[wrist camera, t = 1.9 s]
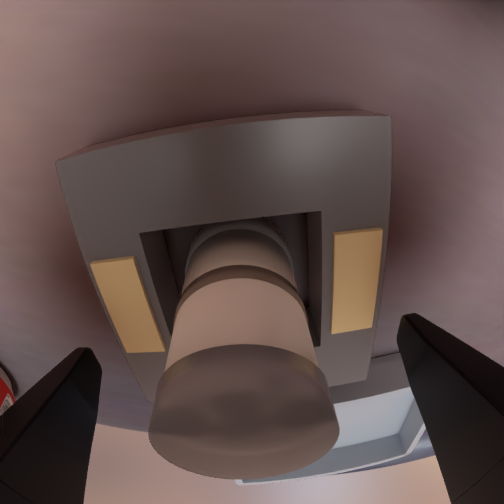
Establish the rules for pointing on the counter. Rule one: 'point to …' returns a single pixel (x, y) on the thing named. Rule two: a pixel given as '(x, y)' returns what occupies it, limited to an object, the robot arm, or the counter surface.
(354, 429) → the parts tray
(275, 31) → the counter surface
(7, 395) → the beverage can
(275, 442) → the cylinder
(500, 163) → the counter surface
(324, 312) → the fuse block
